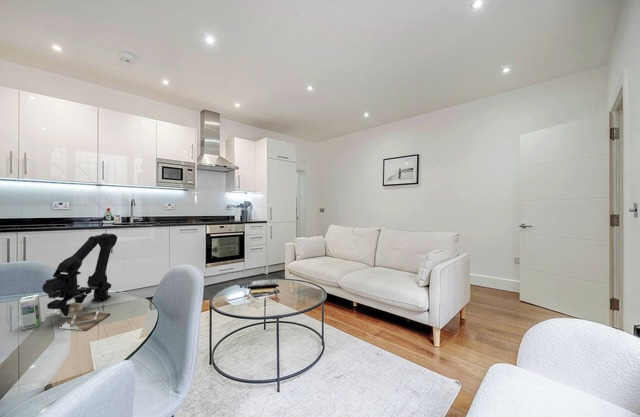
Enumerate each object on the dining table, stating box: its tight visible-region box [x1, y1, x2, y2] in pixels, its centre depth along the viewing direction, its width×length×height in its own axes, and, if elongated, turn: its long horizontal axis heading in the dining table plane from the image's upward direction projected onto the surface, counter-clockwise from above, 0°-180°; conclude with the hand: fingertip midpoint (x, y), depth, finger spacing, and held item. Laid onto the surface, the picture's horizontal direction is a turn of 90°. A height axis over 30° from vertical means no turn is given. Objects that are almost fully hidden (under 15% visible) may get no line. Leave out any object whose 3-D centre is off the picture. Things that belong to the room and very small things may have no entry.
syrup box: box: [19, 293, 42, 331], centre depth 125 cm, size 6×6×14 cm
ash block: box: [59, 301, 84, 317], centre depth 137 cm, size 6×6×5 cm
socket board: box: [57, 309, 111, 332], centre depth 132 cm, size 14×14×2 cm
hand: (71, 312), depth 137 cm, fingers closed on ash block, 6 cm apart
